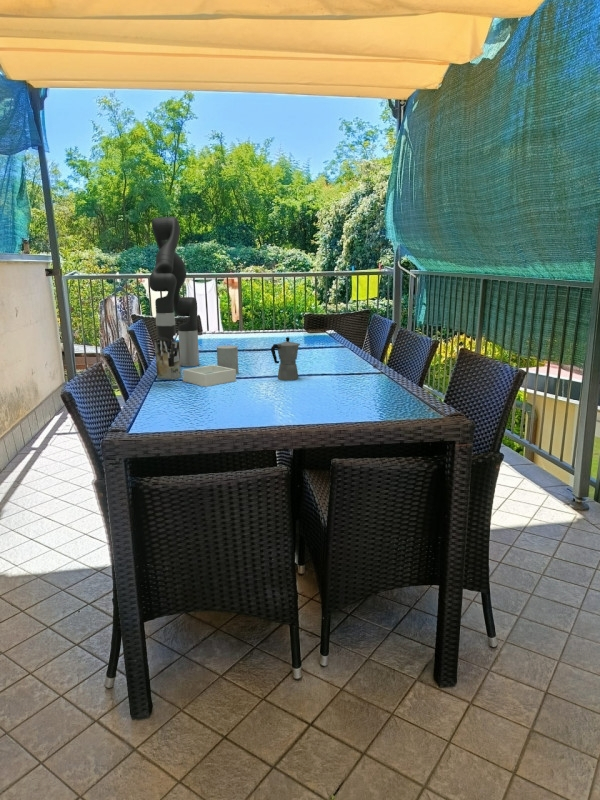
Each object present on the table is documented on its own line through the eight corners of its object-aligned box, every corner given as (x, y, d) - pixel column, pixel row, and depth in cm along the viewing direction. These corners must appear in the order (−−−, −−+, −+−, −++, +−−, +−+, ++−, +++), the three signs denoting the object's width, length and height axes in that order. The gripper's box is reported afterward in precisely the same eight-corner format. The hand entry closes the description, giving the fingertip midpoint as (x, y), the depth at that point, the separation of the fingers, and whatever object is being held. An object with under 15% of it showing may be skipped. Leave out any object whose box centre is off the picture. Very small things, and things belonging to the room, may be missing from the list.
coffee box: (182, 377, 243) (180, 341, 239) (172, 379, 238) (170, 342, 234) (166, 375, 247) (163, 339, 243) (156, 378, 242) (153, 341, 238)
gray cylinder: (231, 376, 245) (230, 348, 242) (213, 374, 249) (212, 347, 246) (242, 372, 253) (241, 346, 250) (225, 371, 257) (224, 344, 254)
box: (183, 381, 235) (182, 369, 234) (213, 375, 246) (213, 364, 245) (205, 386, 224) (204, 374, 223) (236, 380, 235) (235, 369, 233)
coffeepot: (293, 375, 247) (292, 335, 243) (306, 378, 240) (306, 337, 236) (265, 379, 237) (264, 337, 233) (278, 382, 230) (277, 340, 226)
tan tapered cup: (161, 367, 227) (160, 353, 225) (170, 366, 229) (169, 352, 228) (166, 368, 224) (165, 354, 222) (175, 367, 226) (174, 353, 225)
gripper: (148, 323, 224) (151, 364, 229) (167, 326, 215) (169, 369, 219) (164, 321, 230) (167, 362, 234) (183, 324, 220) (185, 366, 224)
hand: (168, 365), depth 226 cm, fingers closed on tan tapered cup, 4 cm apart
